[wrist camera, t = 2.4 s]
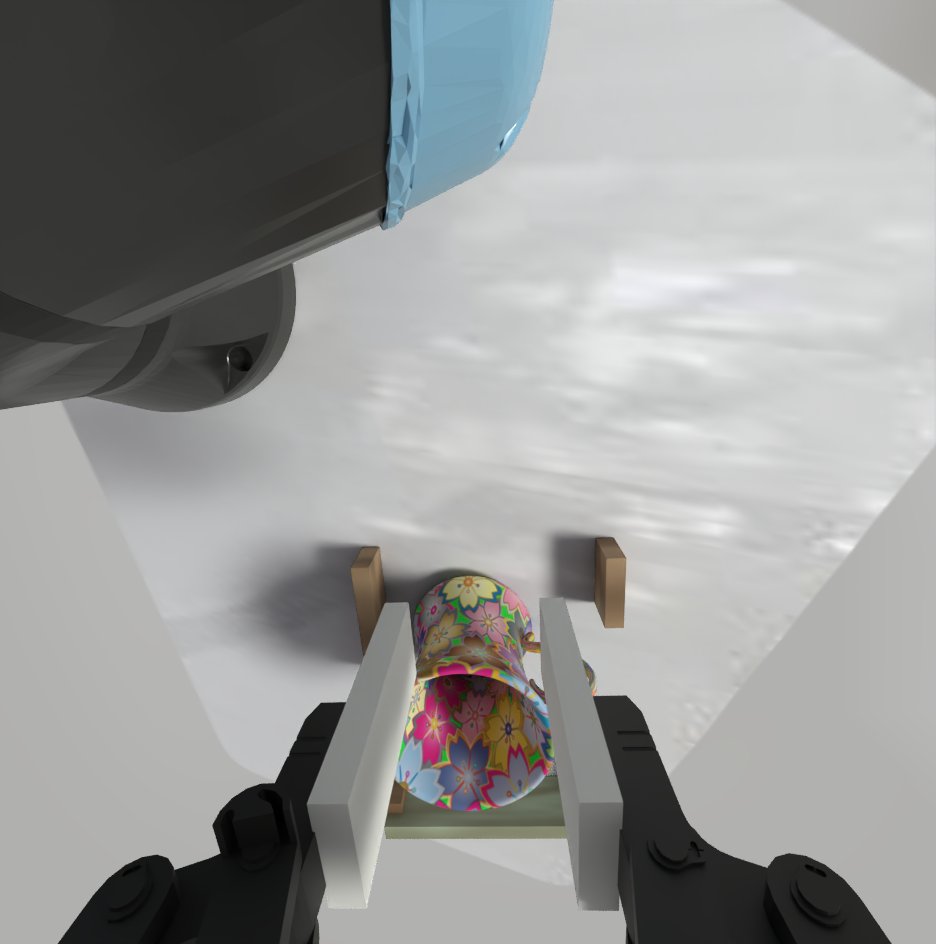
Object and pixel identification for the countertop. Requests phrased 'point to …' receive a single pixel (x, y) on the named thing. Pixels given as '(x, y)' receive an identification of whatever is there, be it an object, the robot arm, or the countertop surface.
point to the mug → (475, 700)
